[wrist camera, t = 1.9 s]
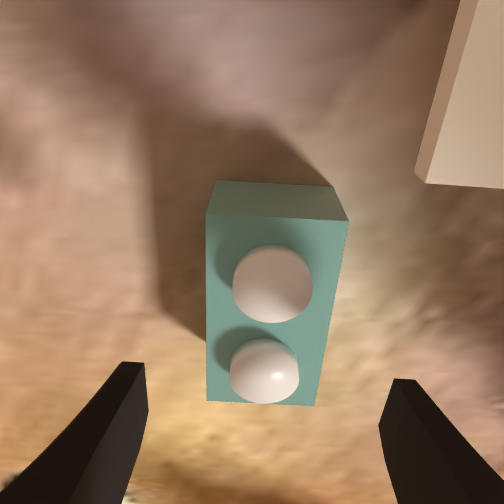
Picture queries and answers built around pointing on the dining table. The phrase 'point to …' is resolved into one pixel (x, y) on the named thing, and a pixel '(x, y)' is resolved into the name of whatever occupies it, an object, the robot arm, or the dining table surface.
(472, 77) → the beige flanged peg
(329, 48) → the dining table surface
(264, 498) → the dining table surface
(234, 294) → the teal block
